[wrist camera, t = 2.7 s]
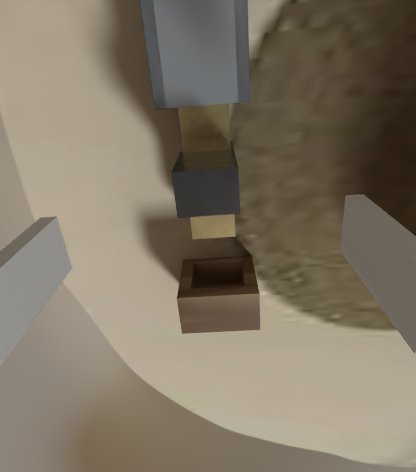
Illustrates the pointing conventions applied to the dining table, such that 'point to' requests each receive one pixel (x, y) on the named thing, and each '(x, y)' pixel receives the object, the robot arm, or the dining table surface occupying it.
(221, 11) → the outer sleeve
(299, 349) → the dining table surface
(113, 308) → the dining table surface
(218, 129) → the tan sliding insert
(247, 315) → the socket block
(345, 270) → the dining table surface
